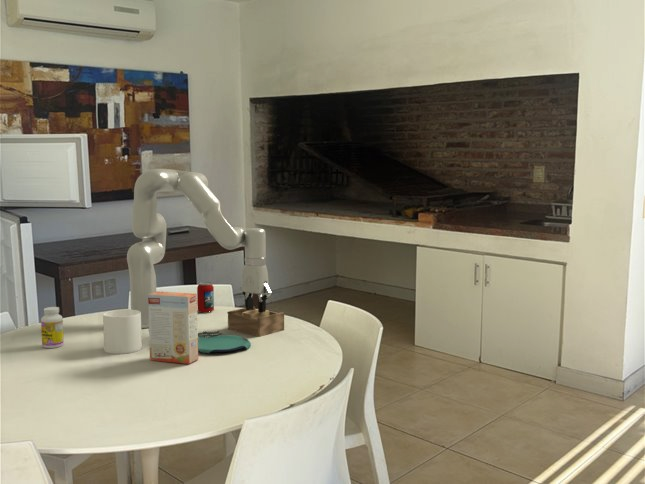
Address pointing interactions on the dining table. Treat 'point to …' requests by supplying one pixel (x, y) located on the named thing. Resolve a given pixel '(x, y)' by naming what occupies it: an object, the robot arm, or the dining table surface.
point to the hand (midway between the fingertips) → (255, 310)
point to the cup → (122, 331)
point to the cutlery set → (220, 342)
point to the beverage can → (205, 297)
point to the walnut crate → (255, 322)
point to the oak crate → (255, 314)
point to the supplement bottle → (52, 328)
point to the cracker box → (173, 327)
